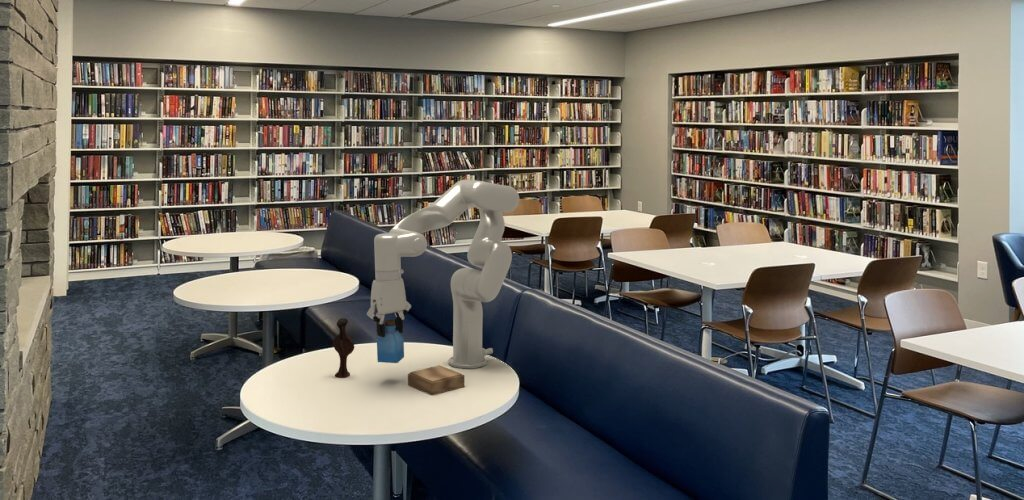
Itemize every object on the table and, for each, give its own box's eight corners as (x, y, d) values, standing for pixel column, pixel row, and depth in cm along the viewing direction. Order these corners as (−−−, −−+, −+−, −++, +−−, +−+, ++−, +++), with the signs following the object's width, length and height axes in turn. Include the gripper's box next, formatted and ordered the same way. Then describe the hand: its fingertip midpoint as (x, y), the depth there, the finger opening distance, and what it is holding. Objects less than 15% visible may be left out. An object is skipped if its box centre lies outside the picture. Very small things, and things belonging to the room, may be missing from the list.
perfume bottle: (397, 363, 235) (395, 324, 233) (377, 362, 236) (376, 323, 234) (404, 357, 241) (402, 318, 239) (384, 355, 242) (383, 318, 240)
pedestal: (439, 377, 244) (439, 364, 244) (464, 386, 236) (464, 373, 235) (407, 385, 236) (407, 372, 236) (432, 395, 228) (432, 381, 227)
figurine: (358, 374, 245) (357, 318, 242) (349, 379, 240) (349, 322, 238) (338, 372, 248) (337, 316, 245) (329, 376, 243) (328, 319, 240)
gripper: (404, 269, 242) (406, 326, 245) (356, 277, 231) (358, 337, 234) (419, 273, 237) (420, 331, 240) (370, 281, 225) (372, 342, 229)
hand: (390, 333), depth 237 cm, fingers closed on perfume bottle, 5 cm apart
